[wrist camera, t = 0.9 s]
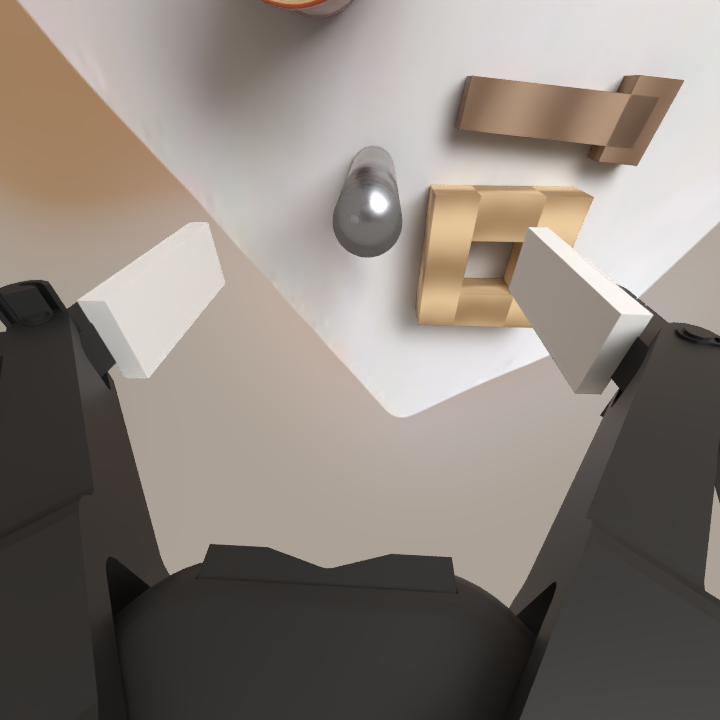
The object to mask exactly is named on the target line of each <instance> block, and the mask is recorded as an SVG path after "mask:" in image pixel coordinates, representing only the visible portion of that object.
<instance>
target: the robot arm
mask: <svg viewBox="0 0 720 720" xmlns="http://www.w3.org/2000/svg"><path fill="white" fill-rule="evenodd" d="M224 284H225V280H224V276H223V273H222V269H221V266H220V262H219V258H218V255H217V252H216V248H215V245H214V241H213V237H212V234H211V231H210V227H209V223H208V222H190V223H188V224H187V225H185V226H184V227H182V228H181V229H180V230H178V231H177V232H175V233H174V234H172V235H171V236H169V237H168V238H167V239H165V240H164V241H162V242H161V243H159V244H158V245H157V246H155V247H153V248H152V249H151V250H149V251H148V252H146V253H145V254H143V255H142V256H140V257H139V258H138V259H136V260H135V261H134V262H132V263H130V264H129V265H127V266H126V267H124V268H123V269H122V270H120V271H119V272H117V273H116V274H115V275H113V276H111V277H110V278H109V279H107V280H106V281H104V282H103V283H101V284H100V285H98V286H97V287H96V288H94V289H93V290H91V291H90V292H88V293H87V294H85V295H84V296H82V297H81V298H80V299H78V300H77V302H76V303H75V304H74V305H72V306H71V307H69V308H68V309H66V307H65V306H64V304H63V303H62V301H61V300H60V298H59V297H58V295H57V294H56V292H55V291H54V289H53V288H52V286H51V285H50V283H49V282H48V281H43V280H29V281H23V282H18V283H14V284H10V285H7V286H4V287H2V288H0V320H1V321H2V323H3V324H4V325H5V326H6V327H7V329H6V332H0V720H720V600H719V599H717V598H716V597H714V596H712V595H711V594H709V593H708V592H706V591H705V589H704V578H705V577H704V576H705V569H706V568H705V567H706V558H707V550H708V541H709V532H710V523H711V514H712V504H713V495H714V486H715V488H716V491H717V495H718V499H719V502H720V336H718V335H716V334H715V333H713V332H711V331H709V330H706V329H704V328H702V327H698V326H694V325H690V324H686V323H675V322H674V323H668V322H667V321H666V320H664V319H663V318H662V317H661V316H659V315H658V314H657V313H656V312H654V311H653V310H652V309H651V308H650V307H648V306H645V303H643V302H642V301H641V300H639V299H636V298H637V297H636V296H635V295H633V294H632V293H631V292H630V291H629V290H627V289H626V288H624V287H622V286H620V285H617V284H615V283H614V282H613V281H612V280H611V279H609V278H608V277H607V276H606V275H604V274H603V273H602V272H601V271H600V270H598V269H597V268H596V267H595V266H594V265H592V264H591V263H590V262H589V261H588V260H586V259H585V258H584V257H583V256H581V255H580V254H579V253H578V252H577V251H575V250H574V249H573V248H572V247H571V246H569V245H568V244H567V243H566V242H565V241H563V240H562V239H561V238H560V237H558V236H557V235H556V234H555V233H554V232H552V231H551V230H550V229H549V228H547V227H528V229H527V232H526V236H525V239H524V242H523V245H522V248H521V251H520V255H519V258H518V261H517V264H516V267H515V270H514V274H513V277H512V280H511V283H510V286H509V289H508V290H509V291H510V293H511V294H512V296H513V297H514V299H515V301H516V302H517V304H518V305H519V307H520V308H521V310H522V312H523V313H524V315H525V316H526V318H527V319H528V321H529V323H530V324H531V326H532V327H533V329H534V330H535V332H536V333H537V335H538V337H539V338H540V340H541V341H542V343H543V344H544V346H545V348H546V349H547V351H548V352H549V354H550V355H551V357H552V359H553V360H554V362H555V363H556V365H557V366H558V368H559V370H560V371H561V373H562V374H563V376H564V377H565V379H566V380H567V382H568V384H569V385H570V387H571V388H572V390H573V391H574V393H576V394H602V392H603V390H604V389H605V388H606V386H607V385H608V383H609V381H610V380H611V379H612V380H613V381H614V382H615V383H616V385H617V386H618V387H619V389H618V391H617V392H616V393H615V395H614V396H613V398H612V399H611V401H610V402H609V404H608V405H607V406H606V408H605V409H604V411H603V412H602V413H601V415H600V416H602V417H603V419H602V421H601V423H600V425H599V427H598V430H597V432H596V434H595V436H594V438H593V440H592V442H591V444H590V446H589V449H588V451H587V453H586V455H585V457H584V459H583V461H582V463H581V466H580V468H579V470H578V472H577V474H576V476H575V479H574V480H573V482H572V485H571V487H570V489H569V491H568V493H567V495H566V497H565V499H564V502H563V504H562V506H561V508H560V510H559V512H558V514H557V516H556V518H555V521H554V523H553V525H552V527H551V529H550V531H549V533H548V535H547V538H546V540H545V542H544V544H543V546H542V548H541V550H540V553H539V554H538V557H537V559H536V561H535V563H534V565H533V567H532V570H531V571H530V574H529V575H528V578H527V580H526V581H525V583H524V585H523V587H522V588H521V590H520V591H519V593H518V594H517V596H516V597H515V599H514V600H513V603H512V604H511V606H510V608H508V607H506V606H505V605H504V604H503V603H502V602H500V601H499V600H498V599H497V598H495V597H494V596H493V595H491V594H490V593H488V592H487V591H485V590H484V589H482V588H481V587H479V586H477V585H475V584H473V583H471V582H469V581H467V580H465V579H463V578H461V577H458V576H455V575H454V569H453V563H452V558H451V557H436V556H435V557H434V556H418V555H400V554H389V555H385V556H381V557H377V558H373V559H368V560H365V561H360V562H356V563H352V564H348V565H343V566H339V567H335V568H322V567H319V566H316V565H314V564H311V563H309V562H306V561H303V560H301V559H298V558H295V557H292V556H290V555H287V554H284V553H282V552H279V551H276V550H273V549H271V548H268V547H253V546H235V545H234V546H233V545H215V544H210V545H209V548H208V551H207V554H206V556H205V559H204V561H203V563H199V564H196V565H193V566H191V567H188V568H185V569H182V570H181V571H178V572H176V573H174V574H172V575H169V573H168V571H167V570H166V568H165V566H164V564H163V561H162V559H161V556H160V553H159V549H158V545H157V542H156V538H155V534H154V530H153V527H152V523H151V519H150V515H149V511H148V508H147V504H146V500H145V496H144V493H143V489H142V485H141V482H140V478H139V474H138V471H137V467H136V463H135V459H134V456H133V452H132V448H131V444H130V441H129V437H128V433H127V429H126V425H125V422H124V418H123V414H122V411H121V407H120V403H119V399H118V396H117V392H116V388H115V385H114V381H113V379H112V378H111V376H110V375H109V373H108V370H109V369H110V368H111V367H112V366H113V365H114V364H115V363H116V365H117V366H118V368H119V370H120V371H121V373H122V374H123V376H124V377H125V378H143V379H148V378H149V377H150V376H151V375H152V373H153V372H154V371H155V370H156V369H157V367H158V366H159V365H160V364H161V362H162V361H163V360H164V359H165V357H166V356H167V355H168V354H169V352H170V351H171V350H172V349H173V347H174V346H175V345H176V344H177V342H178V341H179V340H180V339H181V338H182V336H183V335H184V334H185V333H186V331H187V330H188V329H189V328H190V326H191V325H192V324H193V323H194V321H195V320H196V319H197V318H198V316H199V315H200V314H201V313H202V311H203V310H204V309H205V308H206V306H207V305H208V304H209V303H210V302H211V300H212V299H213V298H214V297H215V295H216V294H217V293H218V292H219V291H220V289H221V288H222V287H223V285H224Z"/></svg>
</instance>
